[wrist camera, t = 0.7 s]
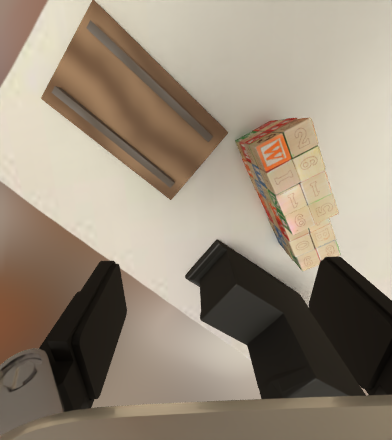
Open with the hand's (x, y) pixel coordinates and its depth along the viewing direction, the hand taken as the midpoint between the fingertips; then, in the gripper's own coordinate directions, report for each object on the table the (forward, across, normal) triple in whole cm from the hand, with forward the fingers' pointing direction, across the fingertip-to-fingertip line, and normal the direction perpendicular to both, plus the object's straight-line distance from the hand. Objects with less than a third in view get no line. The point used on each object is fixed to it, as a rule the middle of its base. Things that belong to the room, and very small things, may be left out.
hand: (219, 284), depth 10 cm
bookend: (+28, -10, +24) cm, 38 cm away
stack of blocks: (+28, -14, +3) cm, 32 cm away
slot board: (+28, +9, -8) cm, 30 cm away
